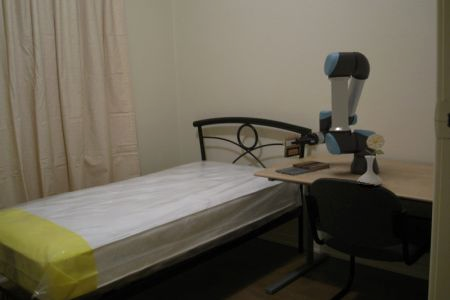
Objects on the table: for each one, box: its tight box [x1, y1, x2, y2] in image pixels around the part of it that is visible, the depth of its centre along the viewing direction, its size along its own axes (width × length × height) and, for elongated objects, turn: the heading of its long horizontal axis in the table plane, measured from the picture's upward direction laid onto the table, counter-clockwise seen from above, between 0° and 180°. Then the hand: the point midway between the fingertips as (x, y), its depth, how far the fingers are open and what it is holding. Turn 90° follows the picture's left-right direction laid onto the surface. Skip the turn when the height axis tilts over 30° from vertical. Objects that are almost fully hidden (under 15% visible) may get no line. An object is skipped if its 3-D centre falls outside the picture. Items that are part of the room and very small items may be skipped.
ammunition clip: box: [283, 134, 301, 158], centre depth 236 cm, size 11×2×12 cm, turn 126°
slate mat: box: [275, 166, 311, 176], centre depth 238 cm, size 14×13×1 cm
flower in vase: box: [357, 133, 386, 186], centre depth 200 cm, size 13×11×25 cm
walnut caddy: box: [292, 160, 331, 173], centre depth 247 cm, size 14×16×2 cm
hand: (284, 143), depth 233 cm, fingers closed on ammunition clip, 2 cm apart
